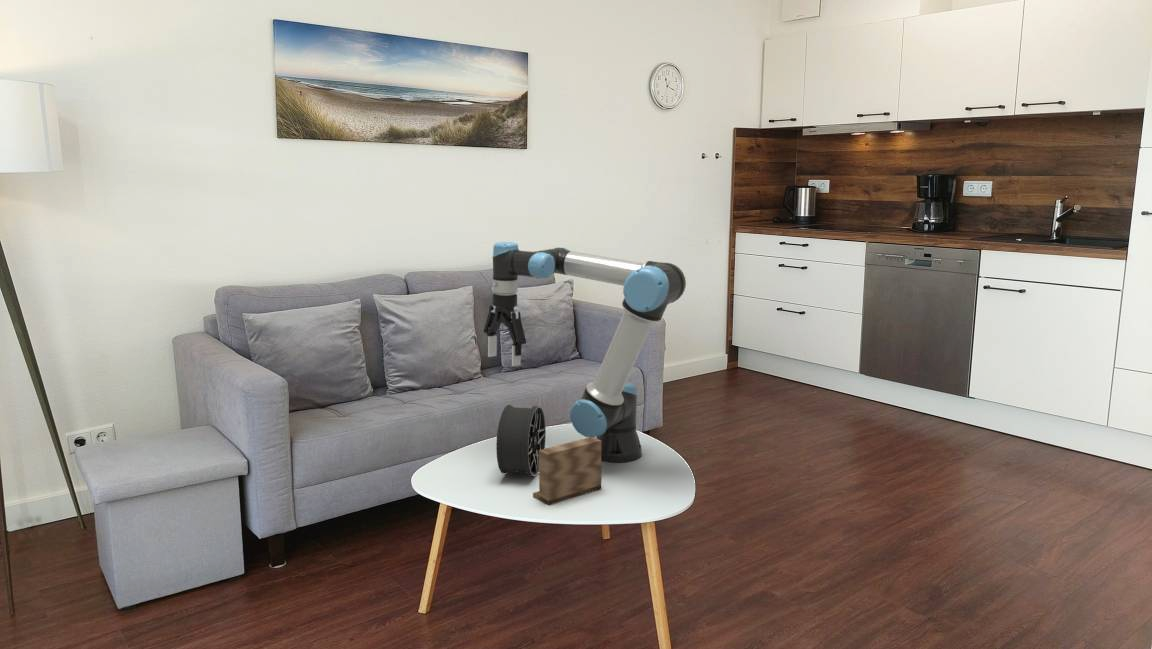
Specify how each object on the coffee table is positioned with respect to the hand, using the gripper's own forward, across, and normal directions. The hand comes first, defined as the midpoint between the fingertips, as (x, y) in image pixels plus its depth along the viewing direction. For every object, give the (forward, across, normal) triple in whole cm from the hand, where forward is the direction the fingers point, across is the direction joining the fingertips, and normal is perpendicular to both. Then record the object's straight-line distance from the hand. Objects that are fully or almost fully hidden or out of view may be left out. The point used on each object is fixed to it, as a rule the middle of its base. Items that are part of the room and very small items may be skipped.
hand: (503, 360), depth 254 cm
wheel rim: (+28, +21, -7) cm, 36 cm away
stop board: (+27, +42, -6) cm, 50 cm away
